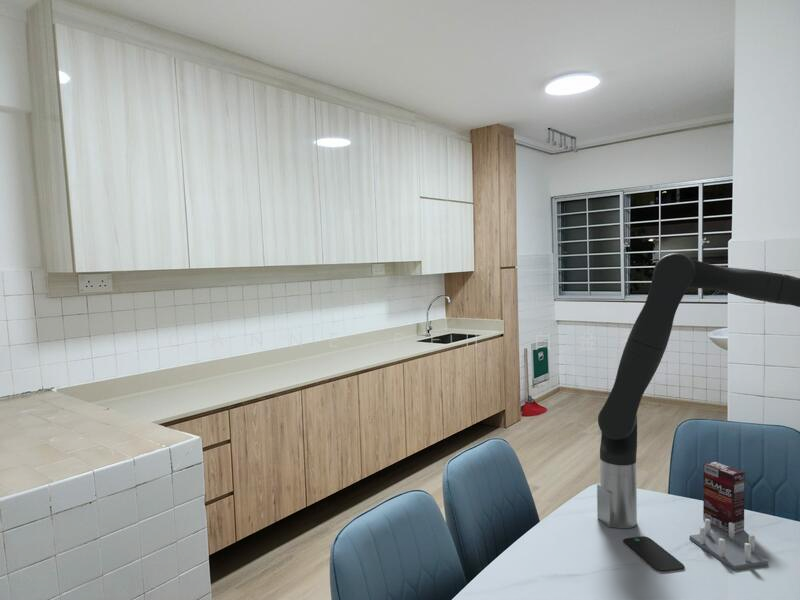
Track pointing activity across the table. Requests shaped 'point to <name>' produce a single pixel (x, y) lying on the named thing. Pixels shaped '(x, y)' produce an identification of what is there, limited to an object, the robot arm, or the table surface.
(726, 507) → the supplement box
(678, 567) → the smartphone
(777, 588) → the table surface
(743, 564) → the grey peg holder
